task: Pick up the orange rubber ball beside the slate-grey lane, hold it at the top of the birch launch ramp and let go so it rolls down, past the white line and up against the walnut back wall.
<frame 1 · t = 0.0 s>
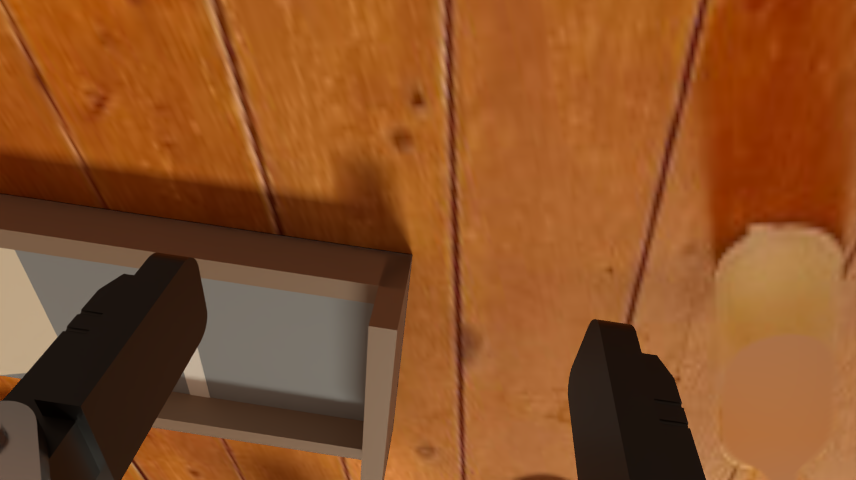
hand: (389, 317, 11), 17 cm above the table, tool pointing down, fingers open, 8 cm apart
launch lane: (130, 314, 39), on the table
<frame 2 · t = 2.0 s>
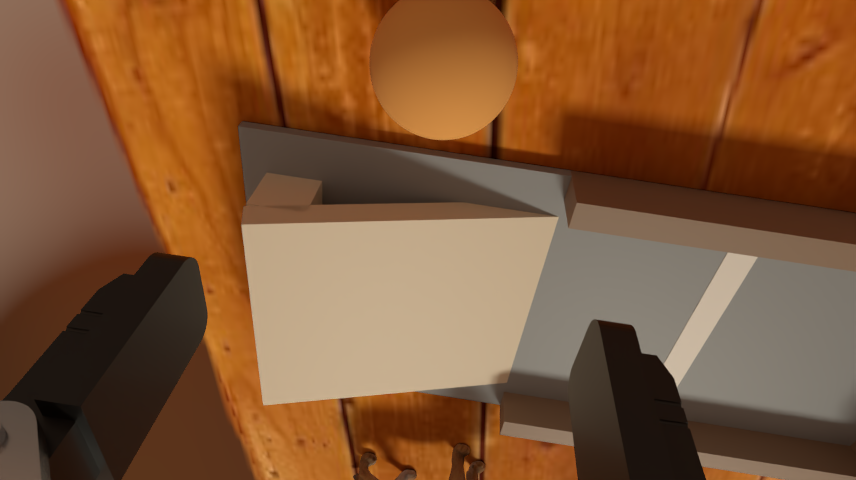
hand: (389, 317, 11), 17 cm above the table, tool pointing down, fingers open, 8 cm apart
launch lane: (626, 318, 34), on the table
lion figurine: (436, 453, 45), on the table
rubber ball: (443, 65, 23), point 3 cm above the table
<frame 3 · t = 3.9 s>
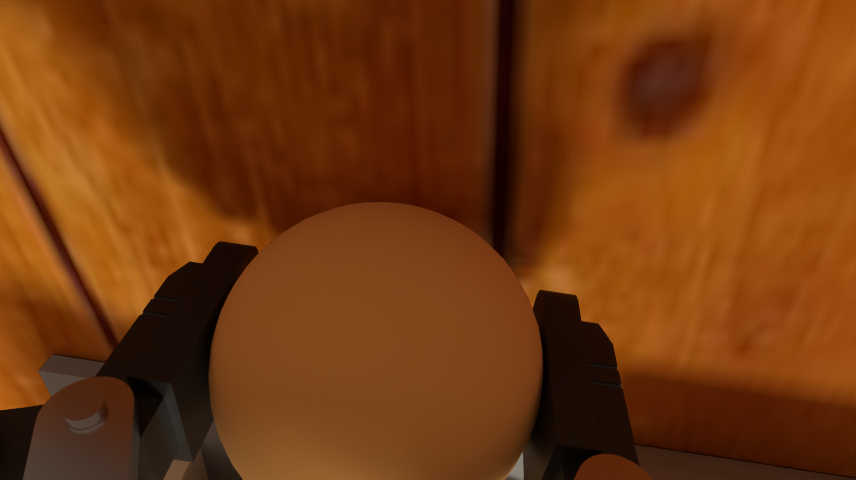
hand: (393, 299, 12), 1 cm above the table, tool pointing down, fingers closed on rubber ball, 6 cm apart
rubber ball: (380, 361, 10), point 3 cm above the table, touching gripper
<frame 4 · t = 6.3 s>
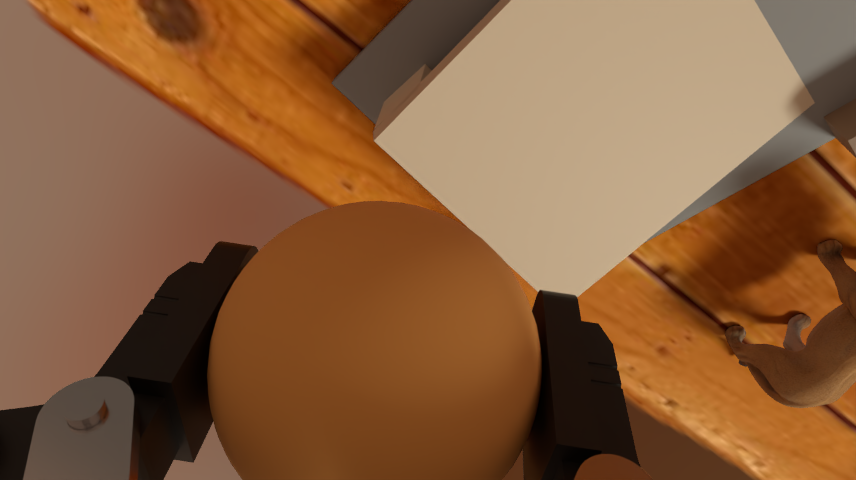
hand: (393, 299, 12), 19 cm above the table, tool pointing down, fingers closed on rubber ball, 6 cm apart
lion figurine: (805, 276, 34), on the table
rubber ball: (379, 361, 10), point 21 cm above the table, touching gripper
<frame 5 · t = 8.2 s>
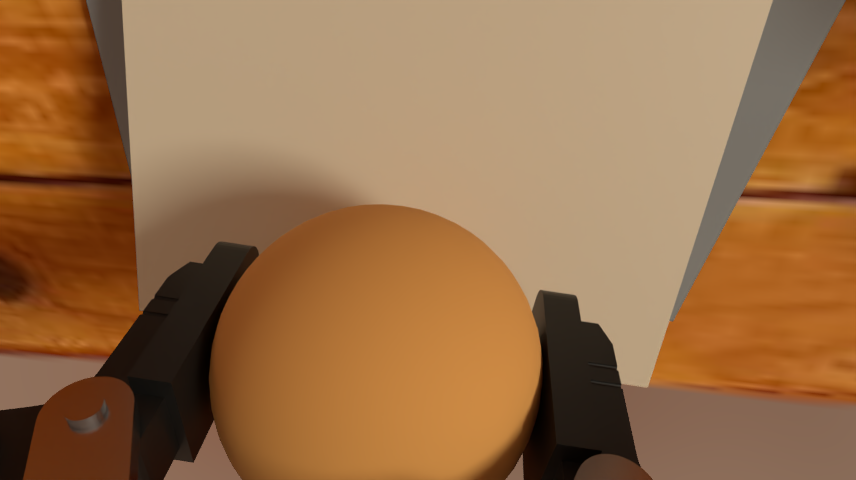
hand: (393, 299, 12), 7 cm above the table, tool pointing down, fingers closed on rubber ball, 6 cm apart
rubber ball: (380, 363, 10), point 9 cm above the table, touching gripper
when the fingers open (7 cm above the table, at t = 9.0 s): rubber ball drops 5 cm and tips over, resting on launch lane.
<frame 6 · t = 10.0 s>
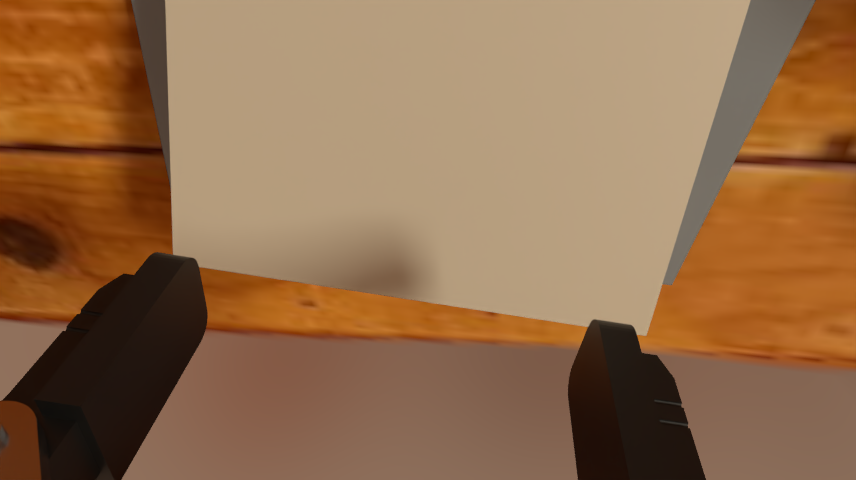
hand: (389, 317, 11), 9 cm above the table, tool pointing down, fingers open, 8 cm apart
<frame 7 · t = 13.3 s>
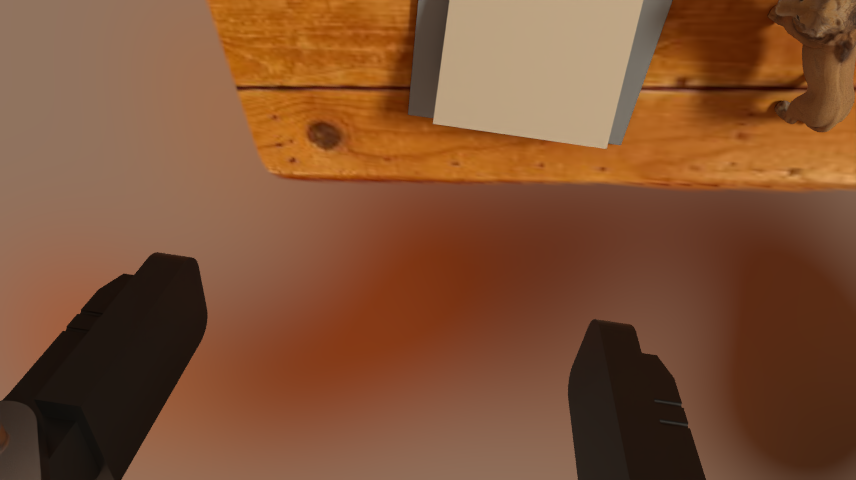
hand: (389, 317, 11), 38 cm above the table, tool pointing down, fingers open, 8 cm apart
lion figurine: (789, 38, 43), on the table
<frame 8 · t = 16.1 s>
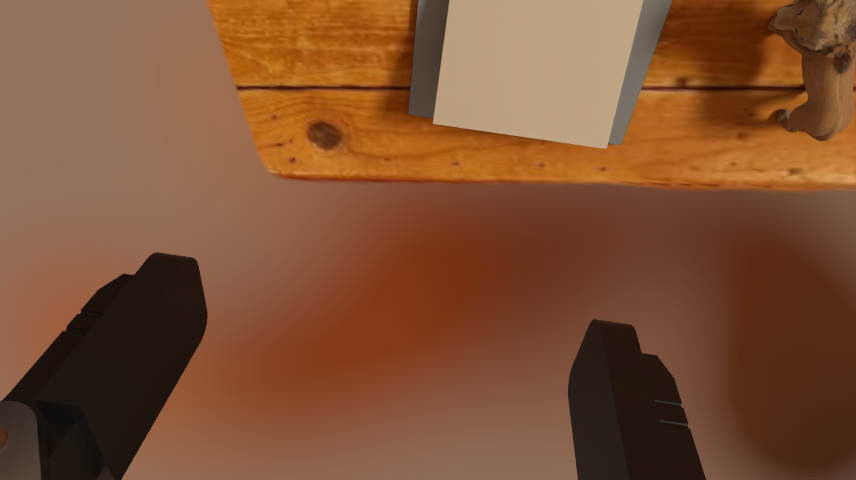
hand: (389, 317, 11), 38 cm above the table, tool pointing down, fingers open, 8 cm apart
lion figurine: (789, 48, 43), on the table
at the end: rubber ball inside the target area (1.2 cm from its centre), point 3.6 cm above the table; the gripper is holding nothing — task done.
